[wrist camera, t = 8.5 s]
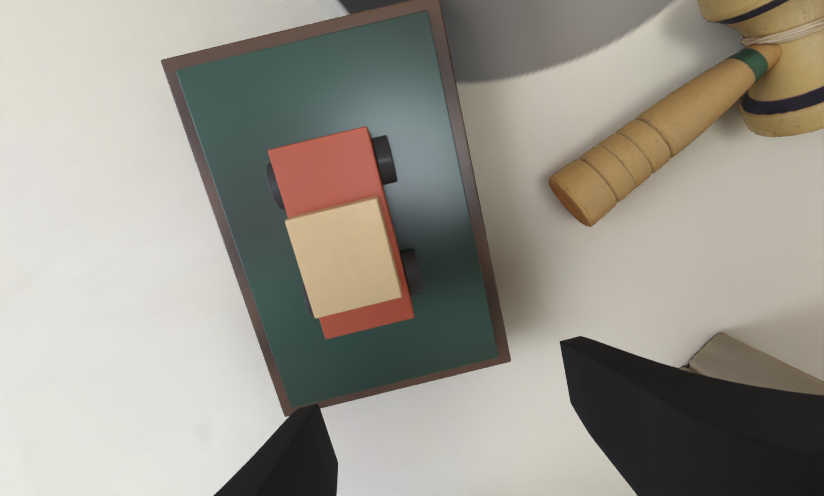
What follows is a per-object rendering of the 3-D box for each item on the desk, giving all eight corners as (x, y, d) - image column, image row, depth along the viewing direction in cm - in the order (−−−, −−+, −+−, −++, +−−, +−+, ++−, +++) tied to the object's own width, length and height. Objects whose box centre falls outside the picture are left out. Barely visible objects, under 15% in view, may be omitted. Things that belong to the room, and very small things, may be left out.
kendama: (600, 257, 22) (944, 8, 18) (647, 286, 16) (1193, -85, 12) (510, 149, 22) (836, -127, 18) (522, 136, 16) (1029, -293, 11)
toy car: (424, 291, 17) (434, 327, 13) (321, 316, 17) (302, 359, 13) (385, 128, 16) (383, 117, 12) (272, 155, 16) (235, 153, 12)
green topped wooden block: (496, 338, 21) (514, 366, 18) (297, 387, 21) (282, 423, 18) (431, 17, 18) (439, -12, 15) (192, 74, 18) (153, 56, 15)
